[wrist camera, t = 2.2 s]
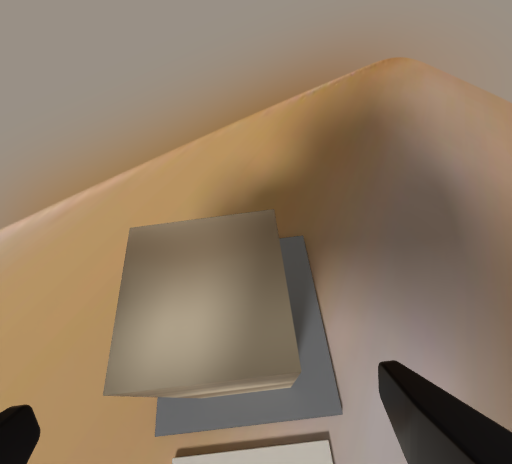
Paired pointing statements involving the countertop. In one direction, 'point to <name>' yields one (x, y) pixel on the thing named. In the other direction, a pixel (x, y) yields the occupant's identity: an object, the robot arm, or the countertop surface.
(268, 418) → the gray tile
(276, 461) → the pad
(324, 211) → the countertop surface
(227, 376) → the birch block
